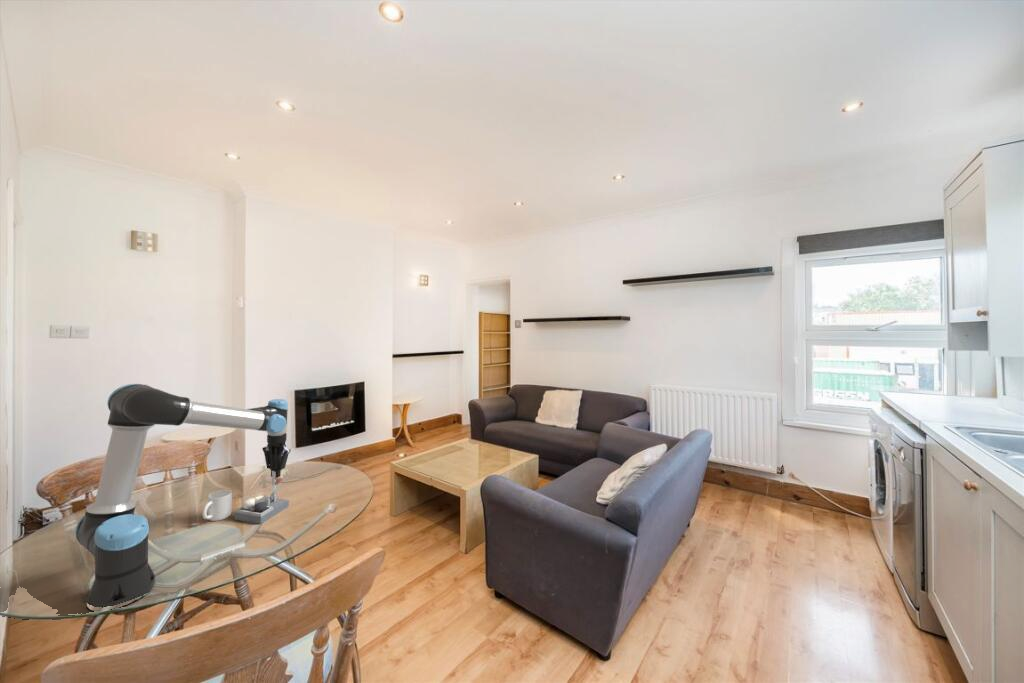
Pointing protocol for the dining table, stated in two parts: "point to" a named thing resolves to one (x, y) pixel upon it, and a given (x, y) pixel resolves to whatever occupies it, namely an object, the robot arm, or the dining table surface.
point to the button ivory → (248, 503)
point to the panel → (259, 518)
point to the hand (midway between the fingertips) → (275, 483)
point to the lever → (275, 489)
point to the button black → (260, 507)
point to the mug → (218, 505)
